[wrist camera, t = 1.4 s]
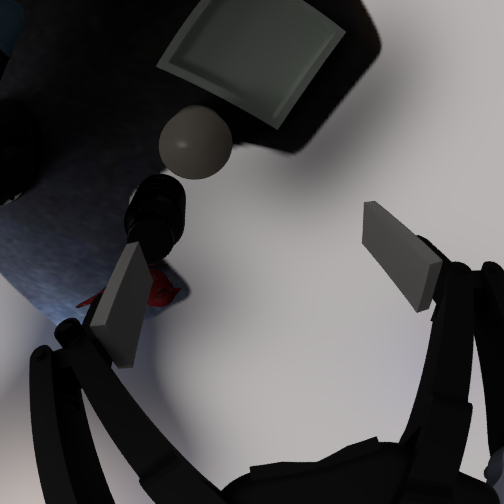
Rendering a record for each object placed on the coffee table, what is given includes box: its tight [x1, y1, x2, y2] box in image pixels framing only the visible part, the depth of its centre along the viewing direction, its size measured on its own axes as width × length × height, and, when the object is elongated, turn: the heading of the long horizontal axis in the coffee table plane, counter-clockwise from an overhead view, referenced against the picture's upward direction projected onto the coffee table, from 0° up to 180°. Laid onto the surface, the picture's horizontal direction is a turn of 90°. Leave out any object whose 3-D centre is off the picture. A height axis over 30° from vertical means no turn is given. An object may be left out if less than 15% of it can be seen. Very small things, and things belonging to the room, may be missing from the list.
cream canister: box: [159, 105, 232, 179], centre depth 29 cm, size 7×7×10 cm
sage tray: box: [156, 0, 346, 130], centre depth 26 cm, size 16×16×3 cm
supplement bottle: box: [124, 174, 186, 261], centre depth 32 cm, size 7×7×12 cm
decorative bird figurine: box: [76, 263, 181, 308], centre depth 38 cm, size 3×18×10 cm, turn 101°
